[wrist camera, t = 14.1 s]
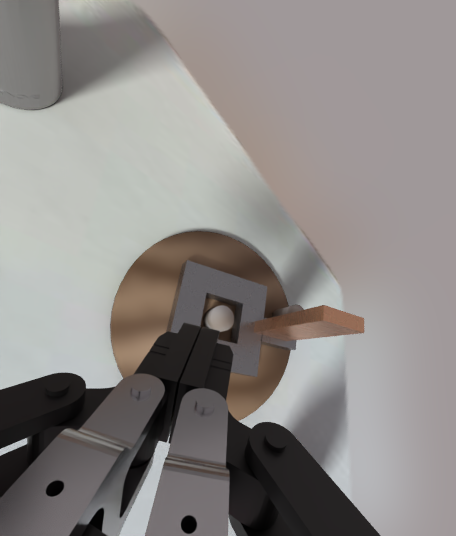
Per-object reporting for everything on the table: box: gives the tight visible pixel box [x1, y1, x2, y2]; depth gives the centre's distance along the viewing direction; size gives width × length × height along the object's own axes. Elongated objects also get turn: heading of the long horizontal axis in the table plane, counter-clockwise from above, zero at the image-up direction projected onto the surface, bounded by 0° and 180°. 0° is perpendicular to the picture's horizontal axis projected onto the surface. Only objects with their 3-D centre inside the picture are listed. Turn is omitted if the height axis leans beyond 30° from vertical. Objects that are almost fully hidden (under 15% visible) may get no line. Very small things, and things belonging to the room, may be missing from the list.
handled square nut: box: [166, 260, 364, 377], centre depth 32 cm, size 17×11×14 cm
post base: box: [110, 231, 303, 421], centre depth 36 cm, size 24×24×6 cm
